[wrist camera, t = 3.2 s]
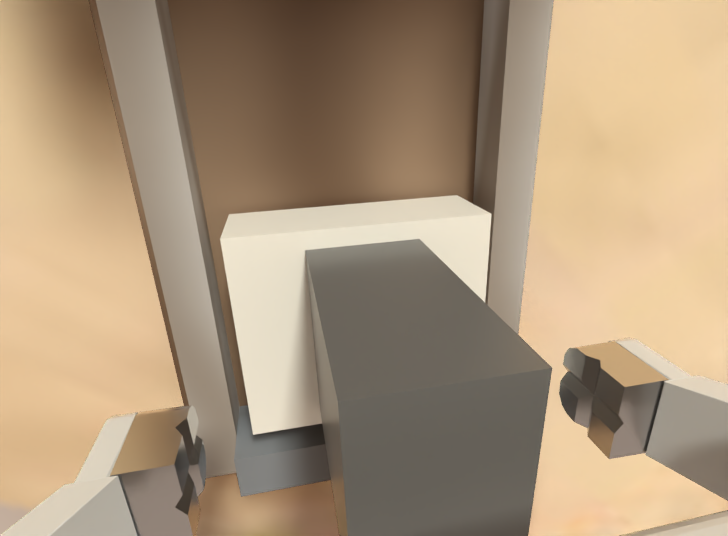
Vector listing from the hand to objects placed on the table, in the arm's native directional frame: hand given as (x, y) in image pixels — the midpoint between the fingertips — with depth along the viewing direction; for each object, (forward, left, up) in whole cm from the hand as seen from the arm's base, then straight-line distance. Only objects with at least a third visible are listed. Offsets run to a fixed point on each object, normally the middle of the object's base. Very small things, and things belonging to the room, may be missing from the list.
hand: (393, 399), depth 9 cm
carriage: (0, 0, -6) cm, 6 cm away
